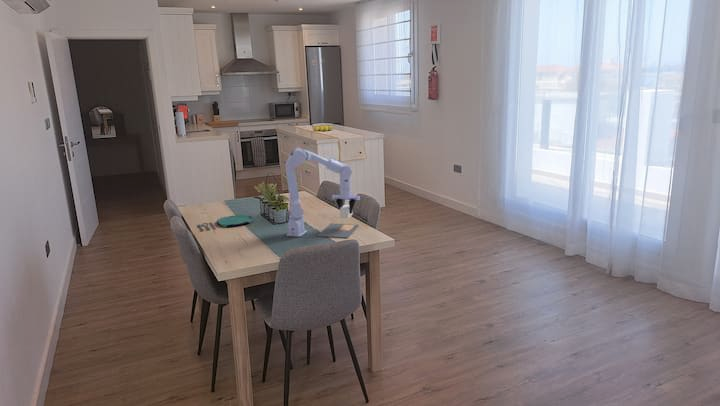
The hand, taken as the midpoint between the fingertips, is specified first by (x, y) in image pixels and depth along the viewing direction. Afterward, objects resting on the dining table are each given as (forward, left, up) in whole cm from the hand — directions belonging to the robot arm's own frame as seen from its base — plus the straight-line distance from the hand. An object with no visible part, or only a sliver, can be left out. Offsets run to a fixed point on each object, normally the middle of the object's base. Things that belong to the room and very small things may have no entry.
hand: (346, 212), depth 261 cm
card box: (0, 0, -2) cm, 2 cm away
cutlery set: (-4, +70, -9) cm, 71 cm away
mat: (-5, +3, -9) cm, 10 cm away
